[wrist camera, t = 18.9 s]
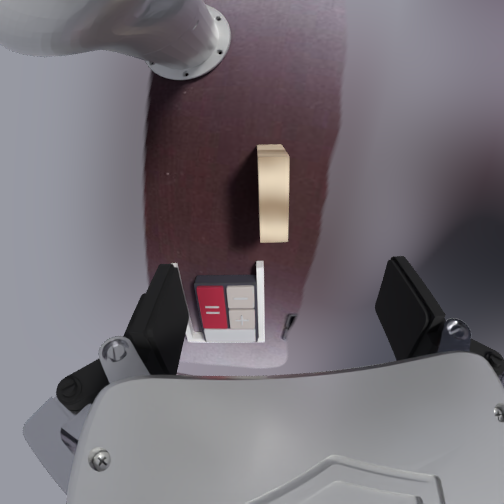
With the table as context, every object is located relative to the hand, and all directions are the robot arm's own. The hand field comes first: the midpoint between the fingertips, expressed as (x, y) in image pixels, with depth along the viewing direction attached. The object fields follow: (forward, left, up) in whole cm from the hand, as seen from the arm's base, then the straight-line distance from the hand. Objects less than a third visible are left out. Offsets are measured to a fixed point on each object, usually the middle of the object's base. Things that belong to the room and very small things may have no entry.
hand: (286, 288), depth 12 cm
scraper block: (+4, +1, -30) cm, 31 cm away
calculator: (+29, -7, -31) cm, 43 cm away
